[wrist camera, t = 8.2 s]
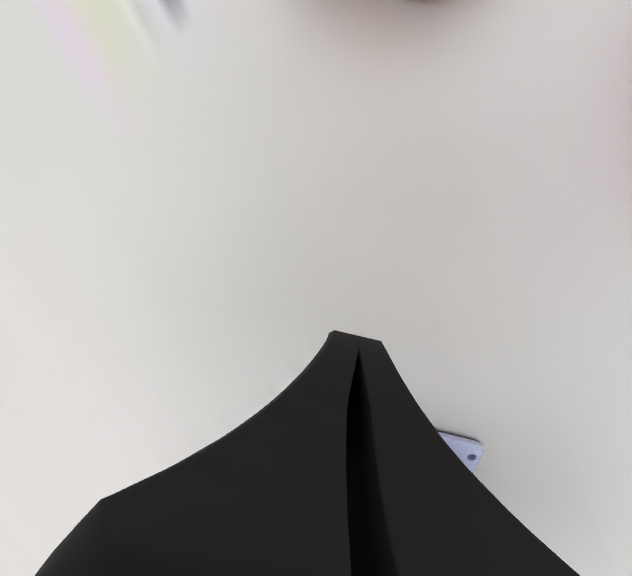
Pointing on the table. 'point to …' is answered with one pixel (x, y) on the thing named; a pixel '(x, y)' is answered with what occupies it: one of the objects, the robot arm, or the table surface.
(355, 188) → the table surface
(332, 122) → the table surface
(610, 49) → the table surface
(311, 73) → the table surface
